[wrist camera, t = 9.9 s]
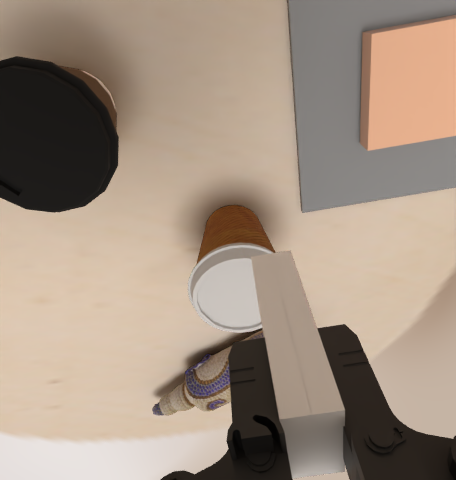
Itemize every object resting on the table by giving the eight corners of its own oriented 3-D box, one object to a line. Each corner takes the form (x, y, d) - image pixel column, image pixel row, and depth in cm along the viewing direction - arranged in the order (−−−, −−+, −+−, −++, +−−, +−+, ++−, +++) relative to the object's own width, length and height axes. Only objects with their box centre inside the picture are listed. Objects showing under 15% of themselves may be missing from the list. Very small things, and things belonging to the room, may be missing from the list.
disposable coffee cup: (290, 216, 44) (316, 282, 34) (244, 274, 48) (254, 348, 38) (219, 176, 41) (224, 234, 31) (176, 241, 45) (167, 312, 35)
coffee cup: (98, 182, 40) (62, 243, 30) (-3, 109, 36) (-84, 153, 26) (163, 102, 36) (147, 142, 26) (59, 10, 32) (-8, 16, 22)
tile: (371, 34, 31) (483, 13, 31) (361, 31, 34) (465, 12, 33) (367, 150, 37) (463, 134, 36) (358, 142, 39) (448, 127, 38)
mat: (283, -54, 31) (285, -54, 30) (513, -98, 30) (519, -100, 29) (301, 210, 43) (302, 212, 43) (463, 183, 43) (466, 185, 42)
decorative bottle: (287, 300, 51) (298, 338, 45) (314, 333, 54) (327, 372, 49) (138, 380, 57) (131, 421, 52) (170, 404, 61) (166, 445, 55)
